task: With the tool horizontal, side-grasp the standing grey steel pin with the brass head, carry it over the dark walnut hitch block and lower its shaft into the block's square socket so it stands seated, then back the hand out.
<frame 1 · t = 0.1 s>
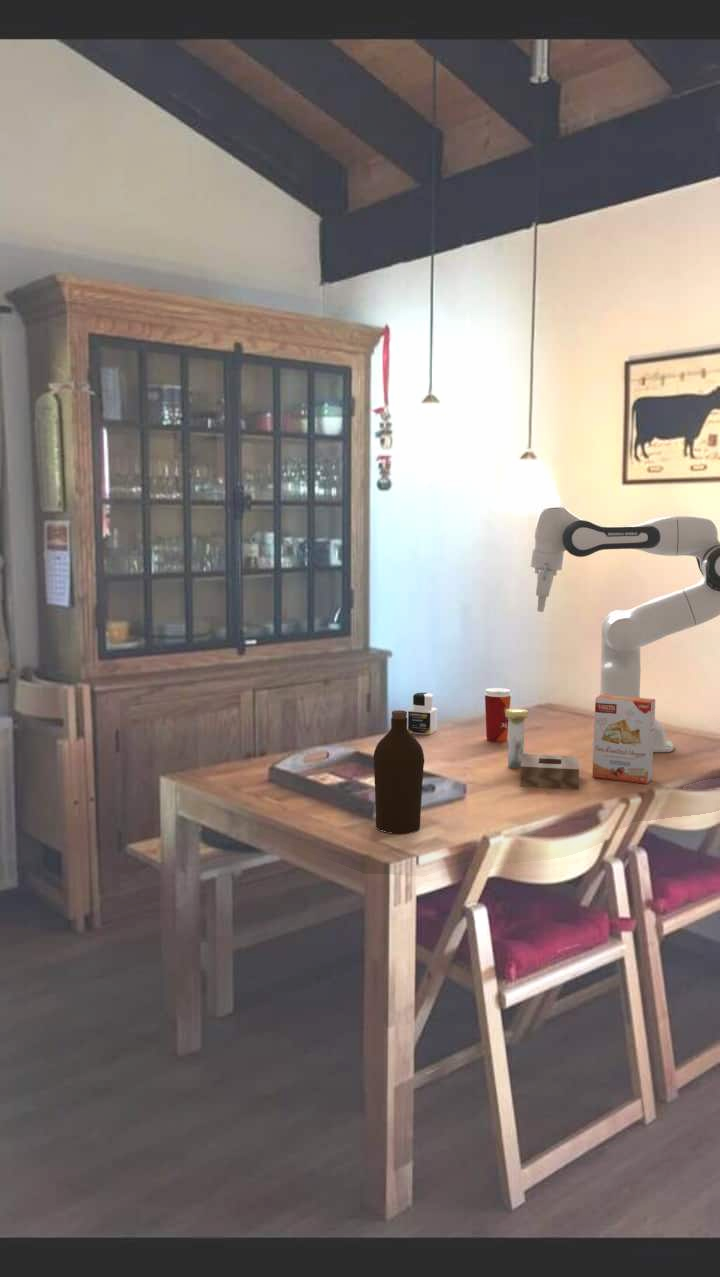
hand: (540, 610, 302), 39 cm above the table, tool pointing down, fingers open, 8 cm apart
medicine bottle: (422, 732, 319), on the table
coffee cup: (496, 740, 309), on the table
hitch block: (549, 780, 261), on the table
olive oil: (398, 828, 221), on the table
cracker box: (622, 779, 263), on the table
pin: (515, 766, 275), on the table
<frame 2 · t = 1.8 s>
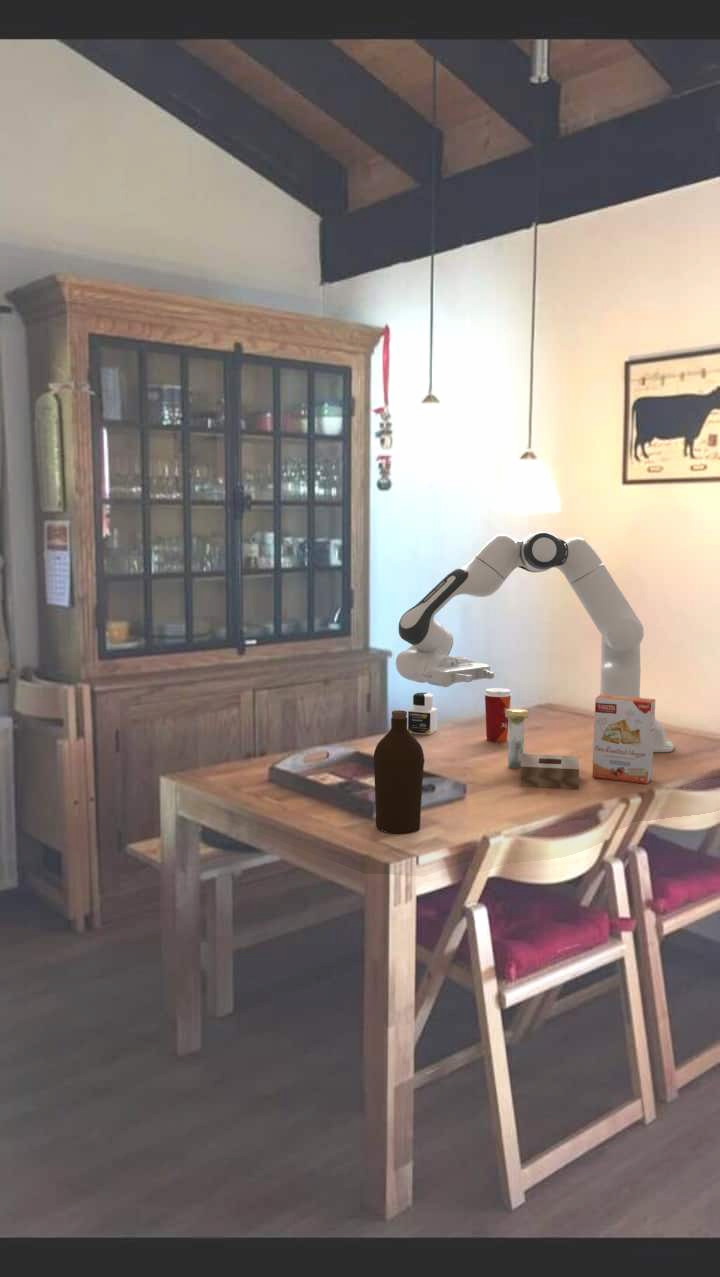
hand: (481, 677, 281), 23 cm above the table, tool horizontal, fingers open, 8 cm apart
nothing on the table moved.
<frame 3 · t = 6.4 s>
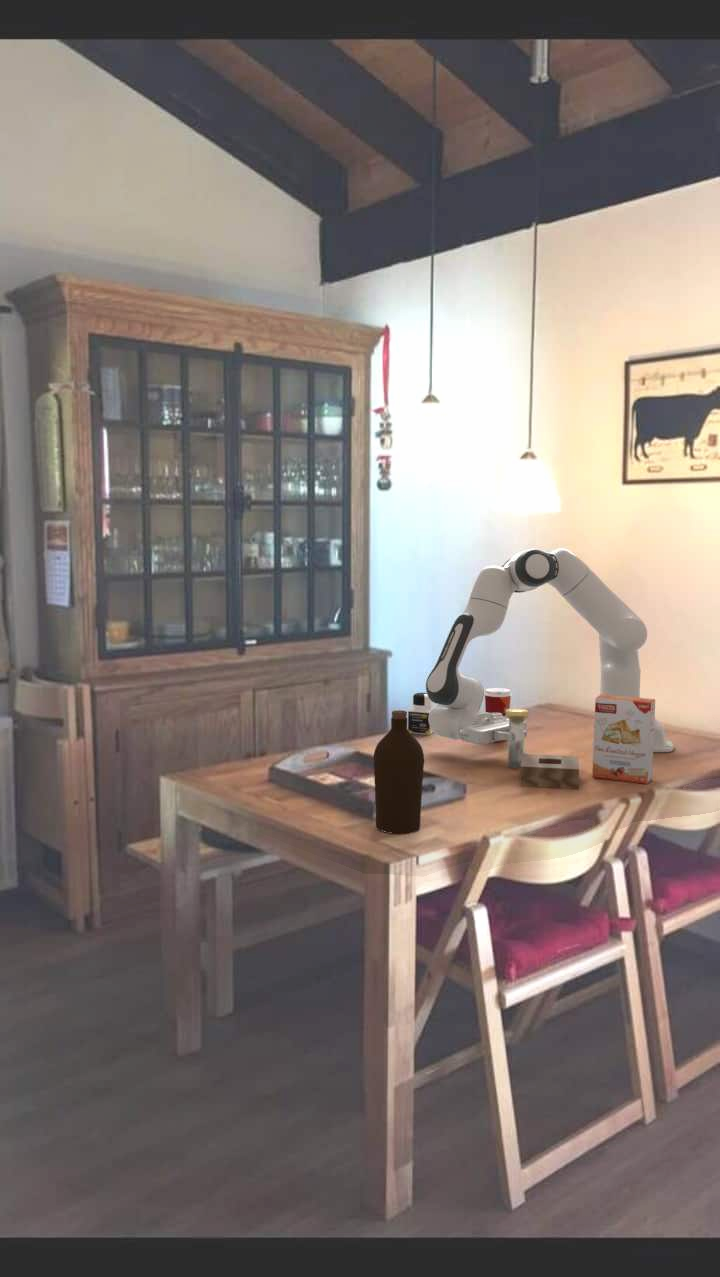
hand: (519, 735, 274), 9 cm above the table, tool horizontal, fingers closed on pin, 4 cm apart
pin: (515, 766, 275), on the table, touching gripper
everything else where it was.
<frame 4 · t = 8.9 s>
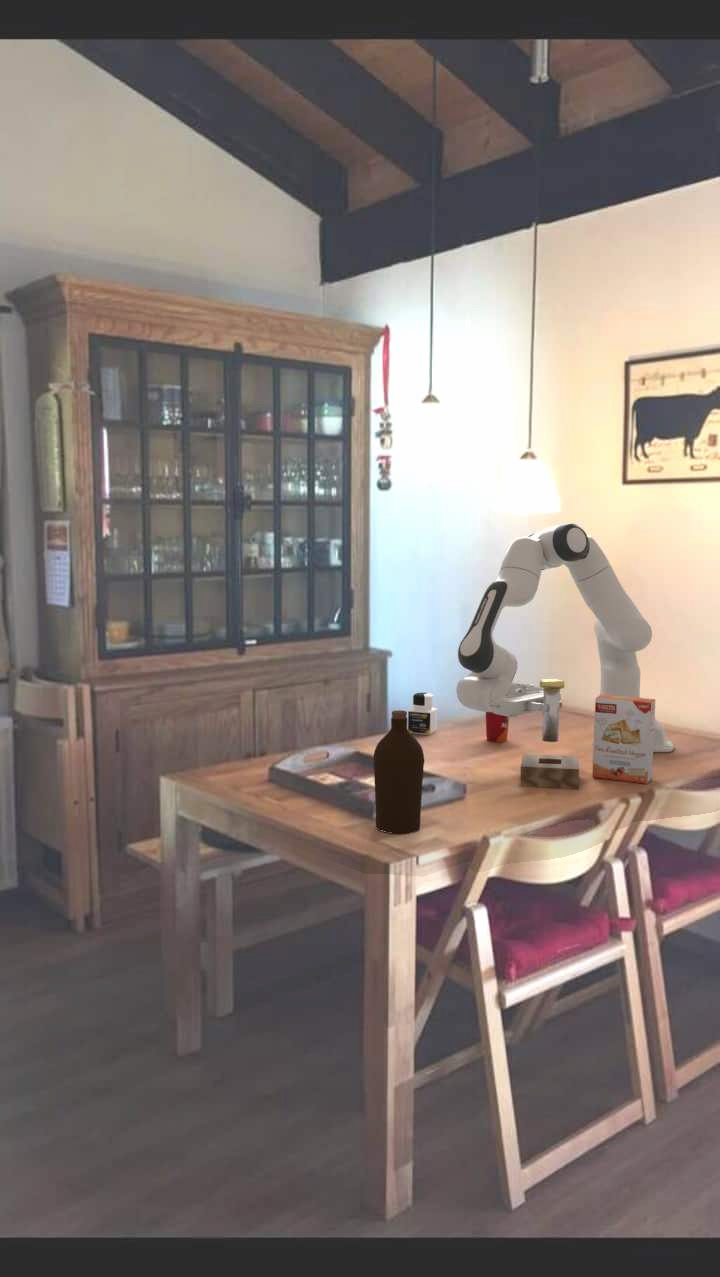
hand: (554, 706, 258), 19 cm above the table, tool horizontal, fingers closed on pin, 4 cm apart
pin: (550, 740, 260), point 10 cm above the table, touching gripper
everything else where it was.
when the fingers open (10 cm above the table, at t = 11.3 s): pin drops 1 cm, resting in hitch block.
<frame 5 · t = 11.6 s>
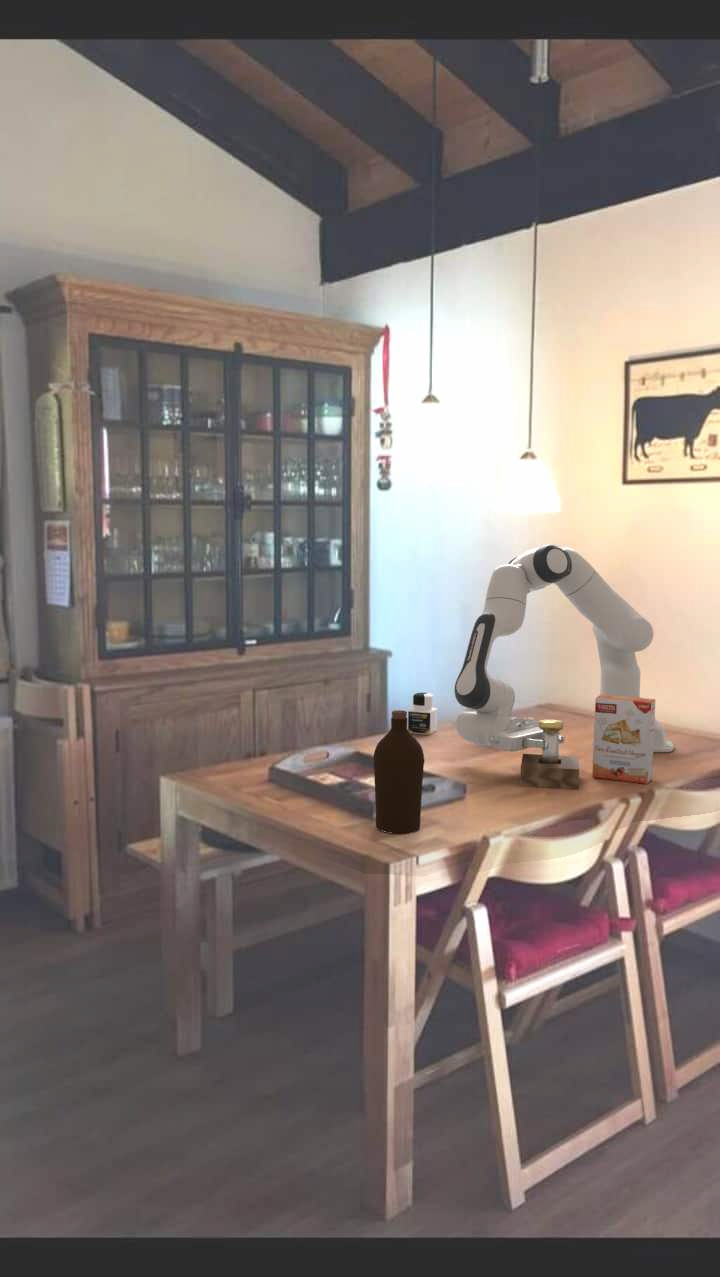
hand: (553, 742, 259), 10 cm above the table, tool horizontal, fingers open, 6 cm apart
pin: (549, 780, 261), resting in hitch block
everything else where it was.
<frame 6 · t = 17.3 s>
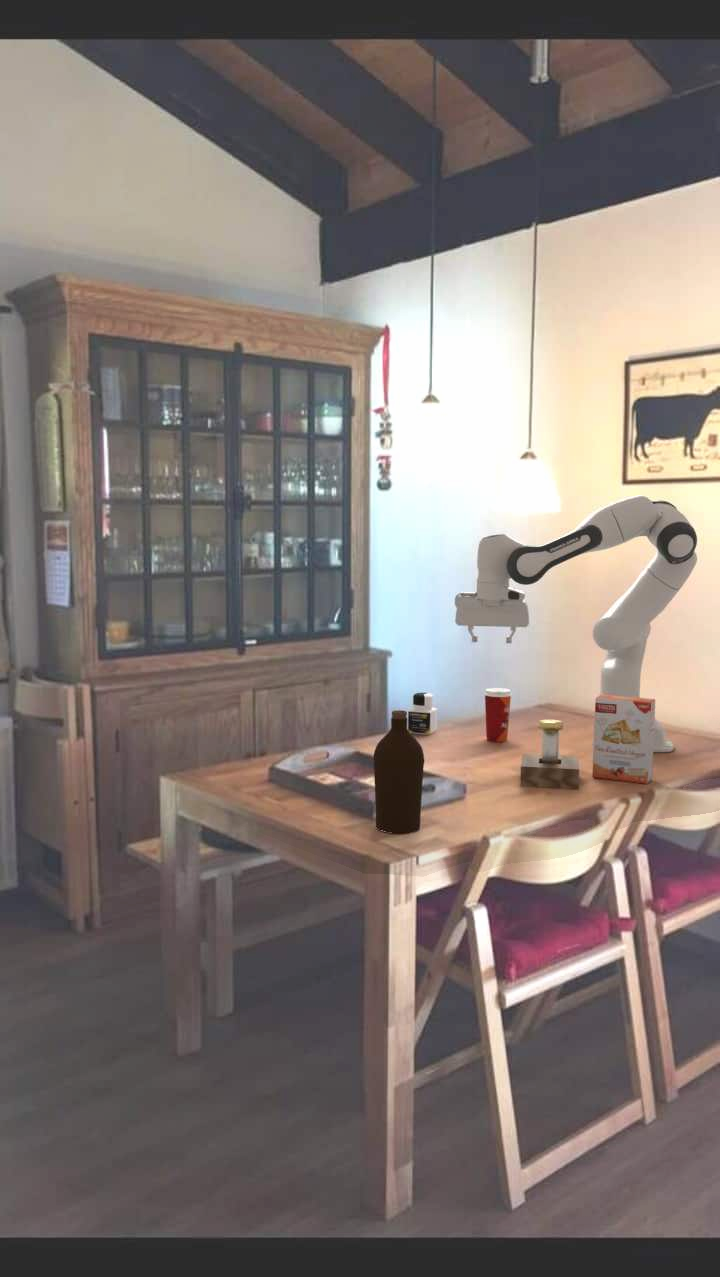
hand: (491, 642, 288), 31 cm above the table, tool pointing down, fingers open, 8 cm apart
nothing on the table moved.
at the end: pin 0.0 cm off-centre on the hitch block, point 0.0 cm above the hitch block's base; pin tilted 0°; the gripper is holding nothing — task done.
